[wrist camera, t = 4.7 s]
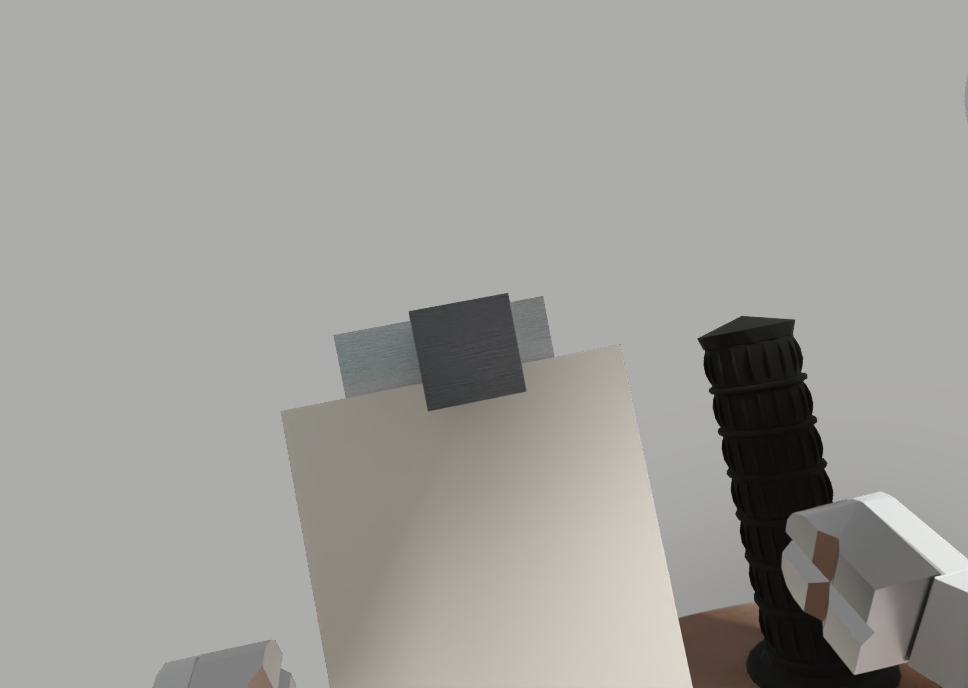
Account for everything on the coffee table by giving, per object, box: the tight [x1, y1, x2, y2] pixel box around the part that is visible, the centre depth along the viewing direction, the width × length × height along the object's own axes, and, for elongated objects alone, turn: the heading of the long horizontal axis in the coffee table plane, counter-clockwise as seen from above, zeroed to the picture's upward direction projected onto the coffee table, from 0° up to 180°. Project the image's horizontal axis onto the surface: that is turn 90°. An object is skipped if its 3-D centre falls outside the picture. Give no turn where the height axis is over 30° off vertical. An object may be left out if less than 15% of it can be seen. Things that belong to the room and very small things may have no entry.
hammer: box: [334, 293, 554, 411], centre depth 24 cm, size 10×20×3 cm, turn 5°
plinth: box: [281, 344, 693, 688], centre depth 31 cm, size 14×16×26 cm
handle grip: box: [698, 316, 901, 688], centre depth 45 cm, size 10×26×10 cm
